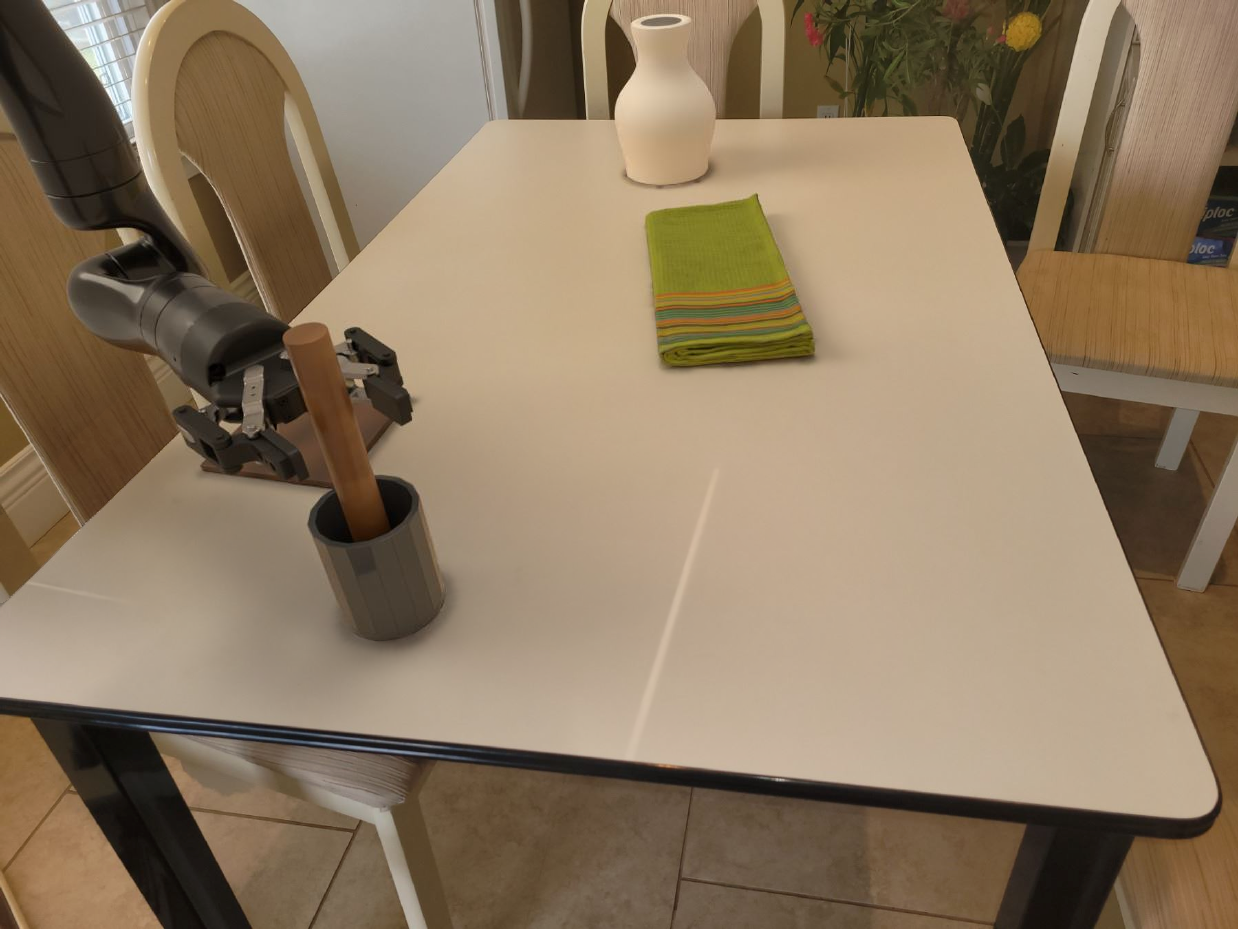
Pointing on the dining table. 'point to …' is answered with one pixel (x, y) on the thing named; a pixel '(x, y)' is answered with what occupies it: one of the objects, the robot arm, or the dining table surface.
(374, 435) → the board
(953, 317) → the dining table surface
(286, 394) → the robot arm
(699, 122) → the vase
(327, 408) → the cylinder
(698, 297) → the dish towel
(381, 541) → the holder
